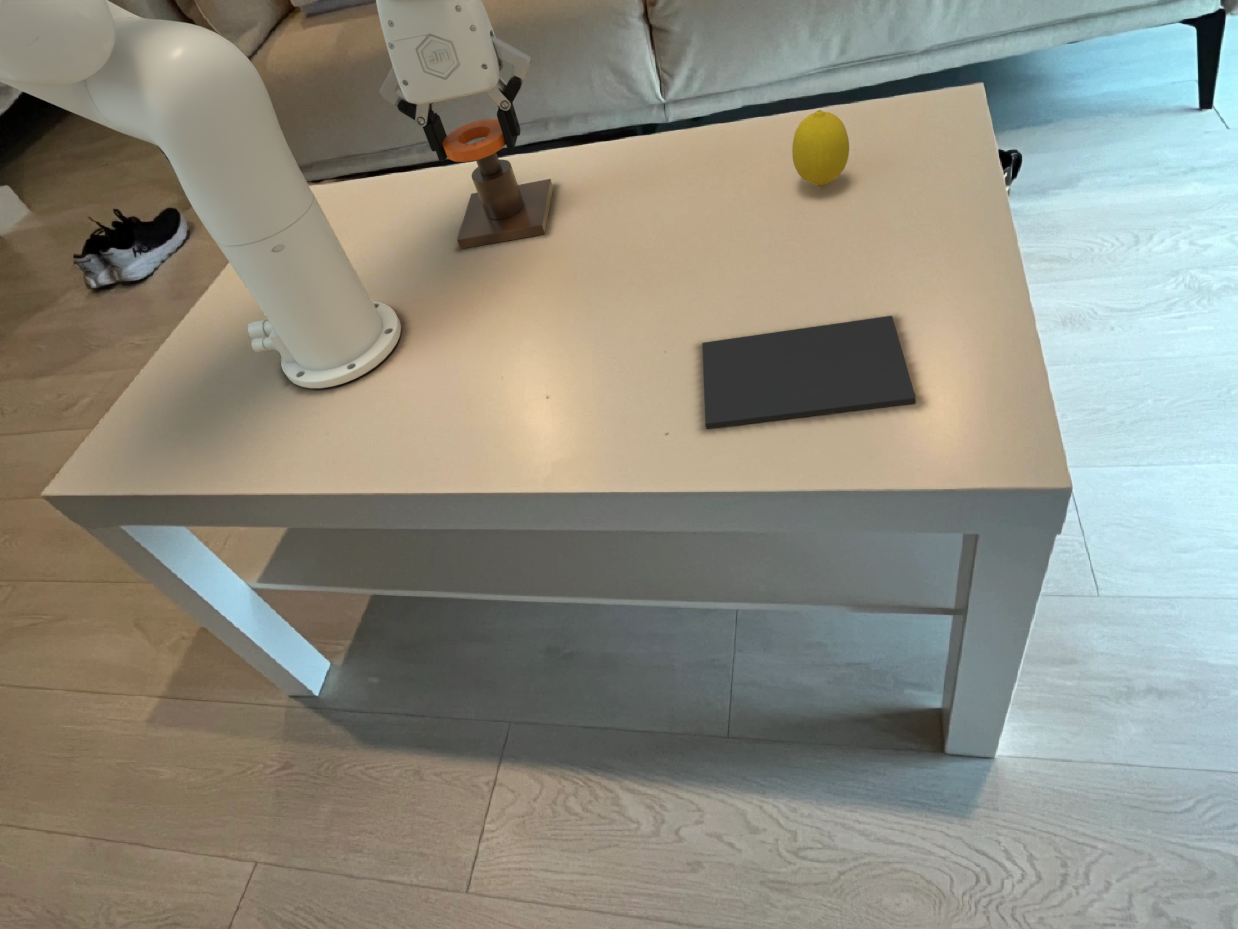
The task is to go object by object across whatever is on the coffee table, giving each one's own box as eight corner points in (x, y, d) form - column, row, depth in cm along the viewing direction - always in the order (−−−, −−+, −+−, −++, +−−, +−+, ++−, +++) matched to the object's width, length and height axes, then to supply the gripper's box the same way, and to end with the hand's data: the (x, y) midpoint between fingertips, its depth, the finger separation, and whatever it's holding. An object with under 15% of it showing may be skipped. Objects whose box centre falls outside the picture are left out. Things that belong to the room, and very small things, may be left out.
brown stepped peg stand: (460, 249, 92) (429, 176, 86) (474, 202, 99) (447, 131, 92) (544, 234, 90) (520, 158, 84) (553, 187, 97) (531, 114, 90)
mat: (706, 429, 65) (705, 423, 65) (703, 347, 72) (702, 342, 71) (915, 403, 62) (915, 397, 62) (891, 320, 69) (892, 315, 68)
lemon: (849, 197, 82) (848, 121, 76) (793, 202, 84) (787, 128, 78) (850, 168, 86) (849, 93, 80) (796, 174, 87) (791, 100, 81)
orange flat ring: (440, 166, 86) (436, 156, 85) (453, 136, 91) (449, 125, 90) (504, 155, 85) (500, 144, 84) (513, 124, 89) (509, 114, 89)
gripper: (318, 0, 74) (396, 180, 87) (500, -41, 71) (553, 151, 84) (341, -27, 80) (411, 146, 92) (511, -67, 76) (560, 118, 89)
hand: (478, 147), depth 88 cm, fingers closed on orange flat ring, 7 cm apart
